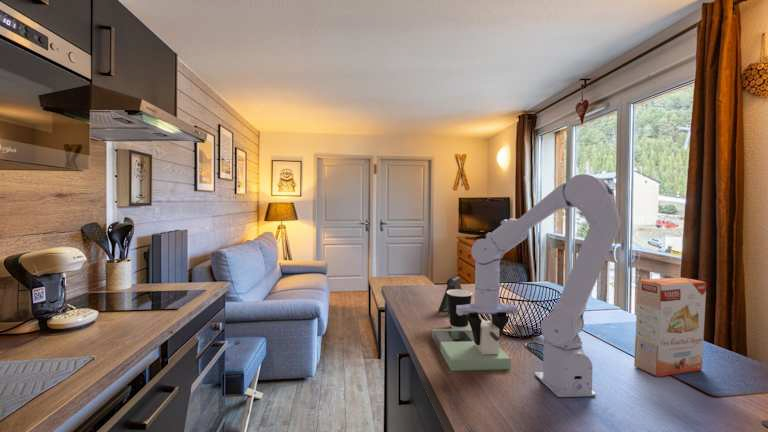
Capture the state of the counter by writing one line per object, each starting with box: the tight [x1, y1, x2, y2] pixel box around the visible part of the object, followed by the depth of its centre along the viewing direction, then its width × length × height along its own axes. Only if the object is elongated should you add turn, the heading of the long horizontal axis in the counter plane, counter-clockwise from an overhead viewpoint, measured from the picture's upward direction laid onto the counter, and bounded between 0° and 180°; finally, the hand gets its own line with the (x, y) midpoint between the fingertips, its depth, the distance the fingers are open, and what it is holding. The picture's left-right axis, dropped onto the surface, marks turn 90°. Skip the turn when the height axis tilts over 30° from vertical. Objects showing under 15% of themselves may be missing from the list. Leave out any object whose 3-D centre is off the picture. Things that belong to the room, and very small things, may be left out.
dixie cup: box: [446, 289, 473, 329], centre depth 108 cm, size 8×8×11 cm
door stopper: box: [438, 275, 463, 314], centre depth 125 cm, size 9×6×12 cm, turn 57°
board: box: [432, 327, 512, 372], centre depth 90 cm, size 20×14×2 cm
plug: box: [474, 318, 500, 355], centre depth 84 cm, size 10×4×6 cm, turn 4°
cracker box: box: [633, 277, 708, 378], centre depth 81 cm, size 14×6×21 cm, turn 105°
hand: (486, 343), depth 85 cm, fingers closed on plug, 4 cm apart
